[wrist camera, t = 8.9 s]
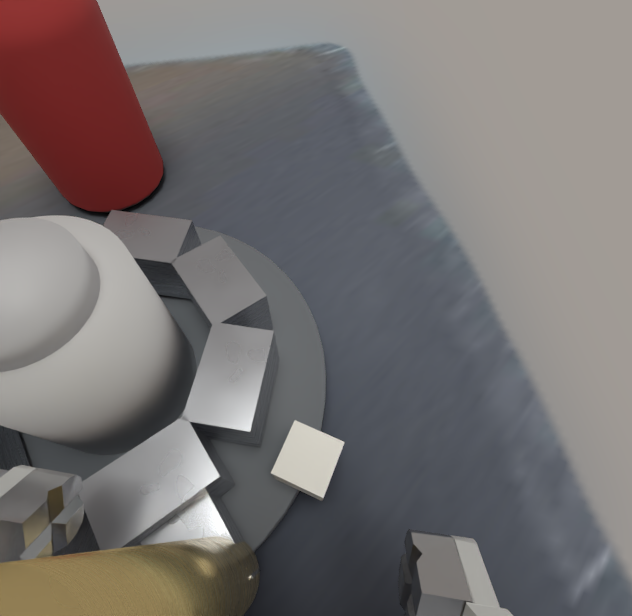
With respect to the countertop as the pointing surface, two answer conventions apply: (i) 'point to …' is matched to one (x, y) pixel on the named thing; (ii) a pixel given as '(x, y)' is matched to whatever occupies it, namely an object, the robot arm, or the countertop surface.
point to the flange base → (146, 365)
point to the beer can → (75, 103)
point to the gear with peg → (167, 459)
